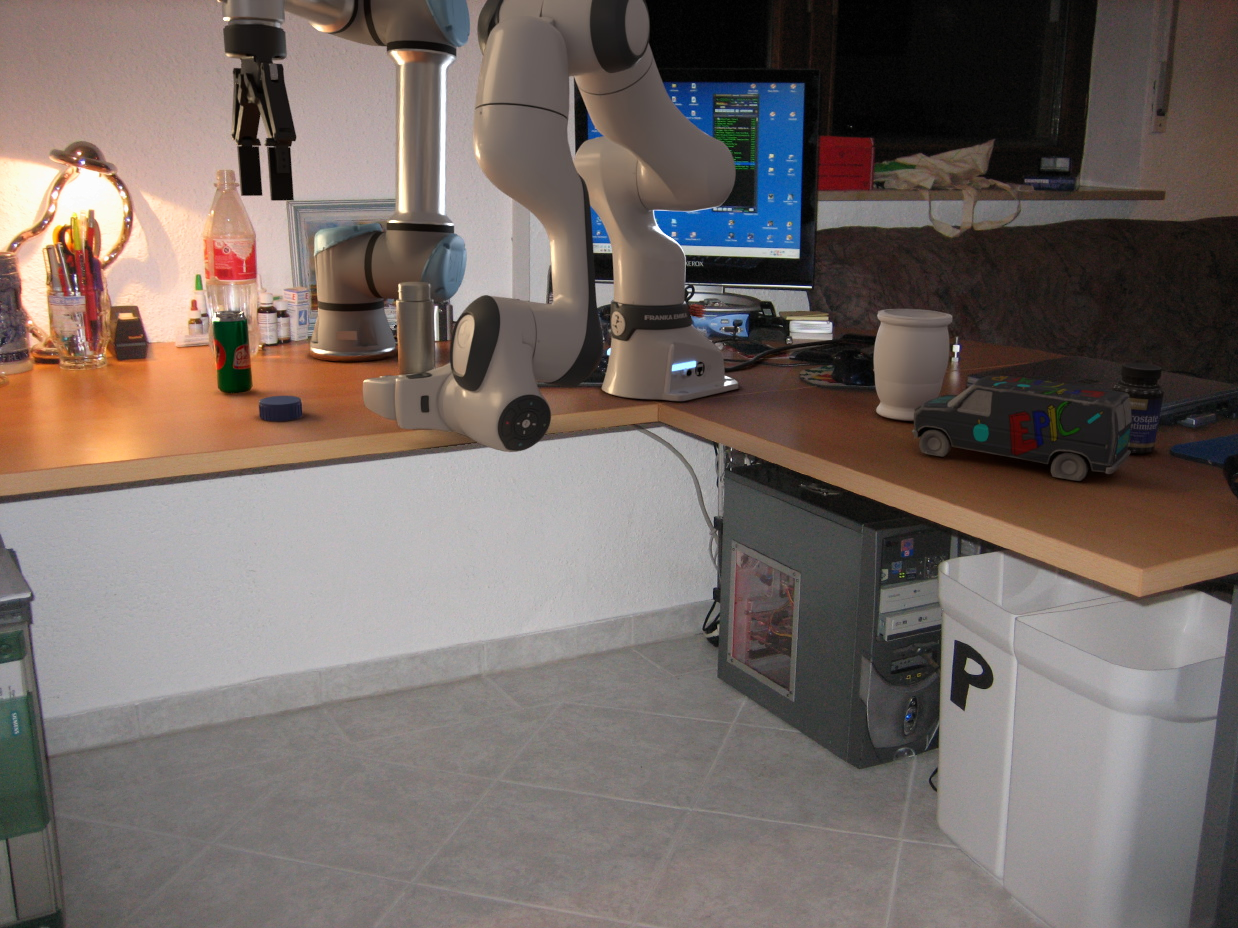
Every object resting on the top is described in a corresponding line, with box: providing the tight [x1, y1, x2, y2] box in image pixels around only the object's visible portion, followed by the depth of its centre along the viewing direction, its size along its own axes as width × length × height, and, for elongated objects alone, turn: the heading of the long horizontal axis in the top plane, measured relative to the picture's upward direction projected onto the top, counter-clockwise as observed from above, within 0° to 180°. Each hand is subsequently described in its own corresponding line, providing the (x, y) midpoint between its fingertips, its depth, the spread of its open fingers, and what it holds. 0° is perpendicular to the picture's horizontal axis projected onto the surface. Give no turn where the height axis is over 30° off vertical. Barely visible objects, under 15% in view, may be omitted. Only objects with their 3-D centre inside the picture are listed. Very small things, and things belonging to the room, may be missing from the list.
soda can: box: [211, 310, 254, 395], centre depth 162 cm, size 5×5×12 cm
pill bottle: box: [1111, 362, 1165, 455], centre depth 139 cm, size 6×6×11 cm
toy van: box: [911, 374, 1133, 482], centre depth 133 cm, size 11×25×10 cm, turn 54°
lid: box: [258, 395, 303, 422], centre depth 149 cm, size 6×6×2 cm
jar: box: [873, 308, 953, 422], centre depth 154 cm, size 11×10×15 cm
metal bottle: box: [395, 282, 437, 375], centre depth 146 cm, size 5×5×19 cm
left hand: (266, 198), depth 141 cm, fingers open, 13 cm apart
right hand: (417, 378), depth 146 cm, fingers open, 8 cm apart
